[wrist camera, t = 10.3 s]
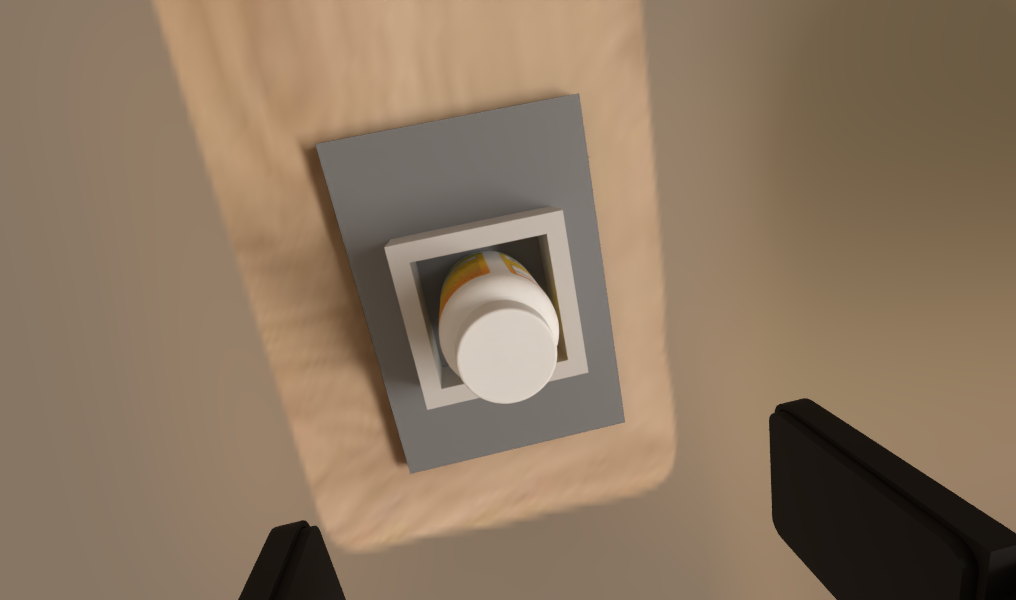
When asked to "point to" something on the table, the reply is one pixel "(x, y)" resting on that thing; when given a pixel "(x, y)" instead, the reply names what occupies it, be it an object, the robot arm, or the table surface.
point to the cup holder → (461, 232)
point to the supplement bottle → (497, 328)
